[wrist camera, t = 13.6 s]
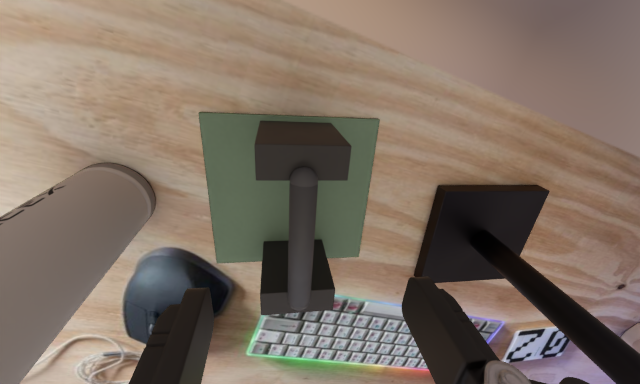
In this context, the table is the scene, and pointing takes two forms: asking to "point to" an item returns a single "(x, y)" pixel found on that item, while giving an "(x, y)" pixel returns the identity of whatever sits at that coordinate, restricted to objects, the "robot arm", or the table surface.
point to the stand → (512, 263)
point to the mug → (633, 337)
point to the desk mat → (280, 188)
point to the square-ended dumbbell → (299, 212)
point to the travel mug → (62, 256)
